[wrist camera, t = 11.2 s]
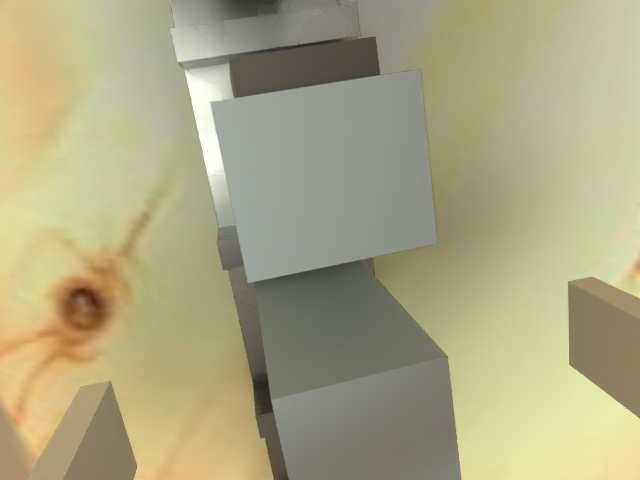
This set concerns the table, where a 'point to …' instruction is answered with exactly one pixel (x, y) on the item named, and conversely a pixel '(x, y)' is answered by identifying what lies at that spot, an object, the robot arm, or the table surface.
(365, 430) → the block
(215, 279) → the table surface
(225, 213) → the rail
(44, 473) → the robot arm
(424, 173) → the fitted fingers
